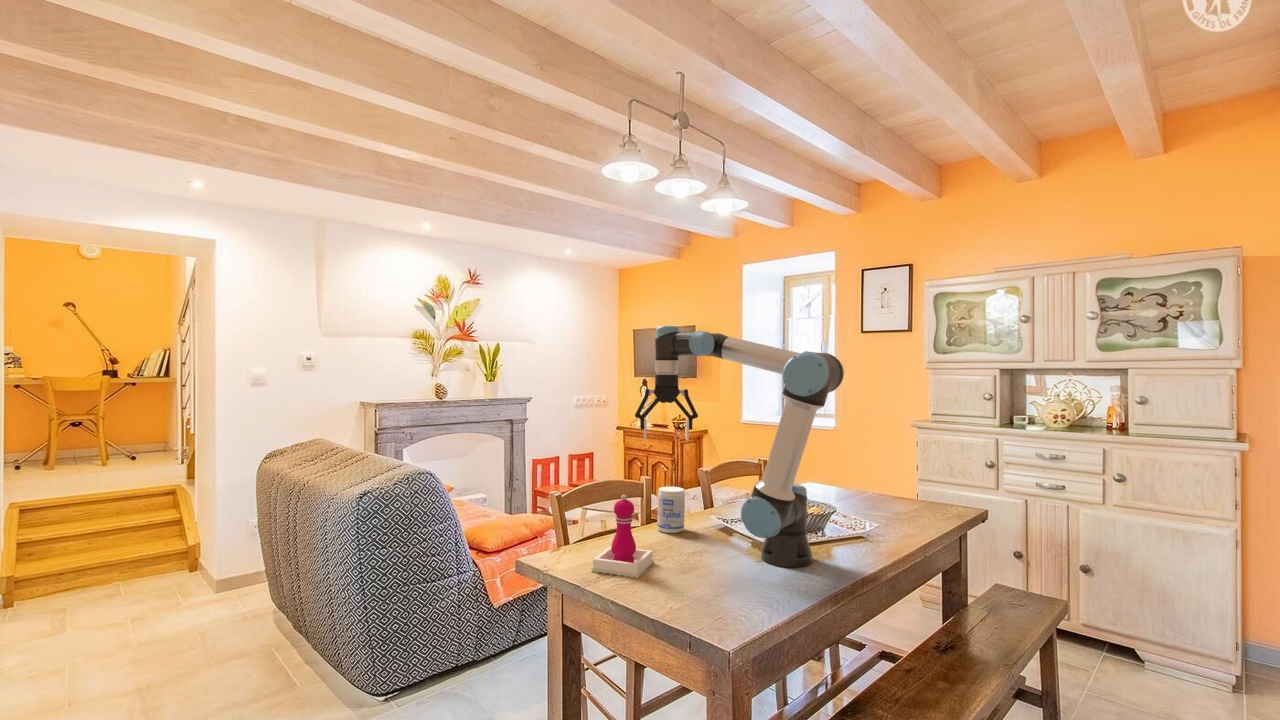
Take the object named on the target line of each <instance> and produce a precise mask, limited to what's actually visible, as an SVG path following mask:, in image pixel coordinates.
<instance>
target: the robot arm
mask: <svg viewBox="0 0 1280 720" xmlns="http://www.w3.org/2000/svg"><path fill="white" fill-rule="evenodd" d="M679 328H680V327H678V326H676V325H659V326H657V327H656V328H655V338H654V342H655V344H654V345H655V360H654V361H655V363H654V367H655V369H654V372H655V373H656V374H655V375H654V389H649V388H645V391H644V395H643V398H642V400H641V402H640V404H639V405H638V408H637V409H636V411H635V414H634V417H635V418H638V419H639V420H640V421H639V422H640V424H639V425H640V427H639V428H640V430H643V441H647V422H648V421H647V420H648V419H647V418H646V417H647V416H648V415H649V413H650V412H652V410H653V409H654V408H655V407H656V406H657V405H658V403H661V404H666V403H668V404H672V403H675V405H677V407H678V408H679V409H680V410H681V411H682V413H683V414H684V415H685V416H686V417H687V419H685V440H686V441H690V439H689V438H690V435H689V433H690V431H691V430H693V420H694V419H697V418H699V415H698V413H697V411H696V409H695V406H694V404H693V402H692V400H691V397H690V396H689V390H688V389H687V388H684V389H679V375H678V373H679V357H681V356H682V357H683V356H689V357H690V356H691V357H693V356H694V357H696V356H697V357H714V358H718V359H720V360H721V359H722V360H727V361H731V362H734V363H736V364H737V363H739V364H742V365H746V366H750V367H753V368H755V369H756V368H757V369H761V370H764V371H769V372H771V373H776V374H779V375H782V381H783V384H784V386H783V390H782V396H783V398H784V400H785V404H784V406H783V410H782V413H781V416H780V419H779V422H778V426H777V430H776V433H775V436H774V439H773V442H772V445H771V449H770V451H769V455H768V458H767V463H766V465H765V469H764V471H763V475H762V478H761V479H760V480H758V481H756V482H755V483H754V486H753V489H752V493H751V496H750V497H749V498H747V499H746V500H745V501H744V502H743V504H742V506H741V510H740V517H741V522H742V523H743V525H744V527H745V529H746V530H747V531H748V533H750V534H751V535H753V536H754V537H757V538H760V539H764V541H763V544H762V546H761V550H760V551H761V552H760V553H761V556H760V557H761V560H762V561H763V562H766V563H768V564H770V565H773V566H778V567H784V568H801V567H802V568H803V567H807V566H810V565H812V564H813V552H812V549H811V546H810V543H809V540H808V537H807V535H808V534H807V529H808V528H807V526H808V524H807V523H808V522H807V518H808V515H807V514H808V513H807V512H808V496H807V495H808V493H807V488H806V487H805V486H804V485H800V484H795V480H796V477H797V473H798V471H799V467H800V464H801V460H802V457H803V455H804V451H805V449H806V445H807V441H808V440H809V439H808V438H809V435H810V433H811V429H812V427H813V423H814V419H815V416H816V415H817V412H818V410H820V409H822V408H824V407H825V404H826V403H827V399H828V395H829V393H831V392H834V391H835V390H837V389H838V388H839V387H840V386H841V385H842V382H843V380H844V377H845V371H844V366H843V364H842V363H841V361H840V360H839V359H838V357H836V356H834V355H833V354H830V353H827V352H814V351H808V350H804V351H803V352H797V351H793V350H788V349H783V348H779V347H775V346H772V345H767V344H762V343H758V342H753V341H749V340H745V339H740V338H737V337H731V336H728V335H725V334H722V333H720V332H719V333H718V332H716V333H715V332H713V333H711V332H709V331H704V330H696V331H680V330H679ZM652 394H654V396H655V399H654V400H653V401H652V402H651V404H650V405H649V406H648V407H647V408H646V409H645V410H644V412H643V413H642V410H643V409H644V407H645V405H646V403H647V400H648V398H649V397H650V396H652ZM680 394H681V396H682V397H684V400H685V401H686V403H687V406H688V407H689V409H690V412H691V414H690V412H689V411H688V410H687V409H686V408H685V406H683V404H682V403H681V401H680V400H679V399H678V397H679V395H680ZM809 564H810V565H809ZM806 565H807V566H806Z"/></svg>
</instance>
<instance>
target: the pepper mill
mask: <svg viewBox="0 0 1280 720" xmlns="http://www.w3.org/2000/svg"><path fill="white" fill-rule="evenodd" d="M613 512H614V514H615V521H614V522H616V530H615V535H614V537H613V540H612V543H611V545H610V546H611V551H612V553H613V554H614V555H615V556H614V557H613V560H615V561H623V562H631V563H634V556H632V555H633V554H634V553H635V551H636V549H637V545H636V541H635V539H634V536H633V534H632V526H631V525H632V522H633V514H634V512H635V506H634V503H633V502H632V501H631V500H630V499H629V500H628V496H627V495H626V494H622V495H621V497H620V500H618V501H616V502H615V503H614V506H613Z"/></svg>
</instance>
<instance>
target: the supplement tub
mask: <svg viewBox="0 0 1280 720" xmlns="http://www.w3.org/2000/svg"><path fill="white" fill-rule="evenodd" d="M685 495H686V493H685V489H684V488H682V487H679V486H662V487H659V488H658V493H657V523H656V524H657V530H658V531H660V532H662V533H666V534H678V533H681V531H682V532H683V531H684V530H685V507H686V506H685V503H686V501H685V498H686V496H685ZM677 532H678V533H677Z"/></svg>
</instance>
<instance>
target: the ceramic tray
mask: <svg viewBox="0 0 1280 720" xmlns="http://www.w3.org/2000/svg"><path fill="white" fill-rule="evenodd" d="M611 546H612V545H610V546H608V547H607V548H606V549H605V550H603V551H602V552H600V553H599V554H598V555H597V556H595V557H594V558H592V567H591V572H592V571H595V572H594V573H598V572H603V573H602V574H605V573H610V574H609V575H612V574H617V575H616V576H620V575H624V576H623V577H627V576H630V577H629V578H634V577H635V578H637V579H639V577H640V576H642V574H644V572H646V570H648V569H649V568H650V567H651V565H653V564H654V562H655V559H654V558H653V553H654V552H653V551H654V550H649V549H640V548H636V551H635V553H634V554H633V555H632V556H634V563H631V562H623V561H615V560H613V557H614V556H615V555H614V554H613V553H612V551H611Z"/></svg>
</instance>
